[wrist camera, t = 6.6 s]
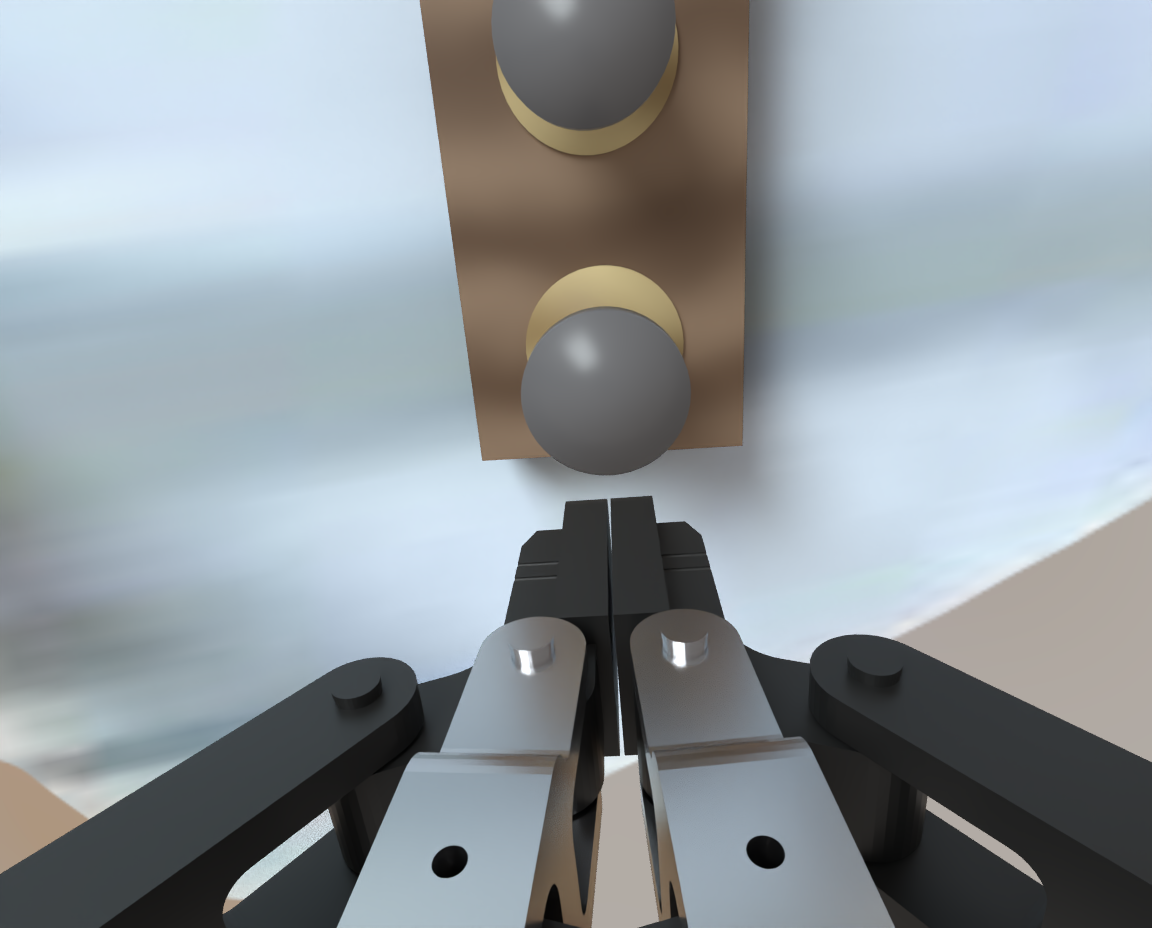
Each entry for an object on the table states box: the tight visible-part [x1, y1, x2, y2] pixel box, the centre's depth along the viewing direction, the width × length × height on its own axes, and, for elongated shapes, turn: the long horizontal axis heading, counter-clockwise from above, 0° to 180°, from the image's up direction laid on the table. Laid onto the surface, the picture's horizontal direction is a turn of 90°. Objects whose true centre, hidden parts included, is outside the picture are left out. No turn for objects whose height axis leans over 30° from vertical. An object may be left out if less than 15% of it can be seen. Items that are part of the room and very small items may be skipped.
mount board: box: [420, 0, 749, 461], centre depth 28 cm, size 32×12×4 cm, turn 4°
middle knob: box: [491, 0, 676, 131], centre depth 23 cm, size 6×6×5 cm
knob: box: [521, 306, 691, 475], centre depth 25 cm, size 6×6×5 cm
